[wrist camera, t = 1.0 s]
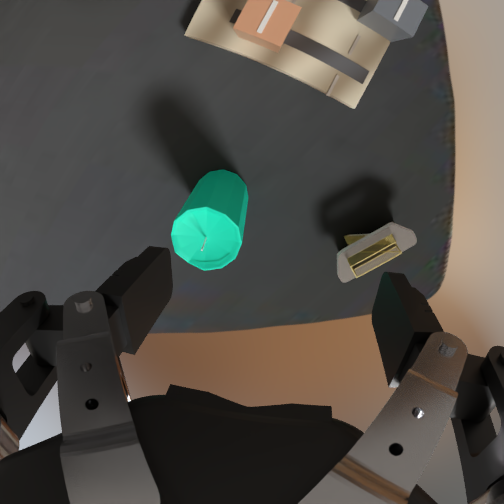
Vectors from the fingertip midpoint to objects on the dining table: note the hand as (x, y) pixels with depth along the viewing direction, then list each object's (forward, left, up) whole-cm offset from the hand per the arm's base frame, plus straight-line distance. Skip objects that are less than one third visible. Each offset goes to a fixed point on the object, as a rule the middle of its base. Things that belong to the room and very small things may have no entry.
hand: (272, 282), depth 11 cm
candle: (-2, -7, -23) cm, 25 cm away
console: (-3, +15, -23) cm, 28 cm away
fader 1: (-5, +11, -21) cm, 24 cm away
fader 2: (+4, +18, -21) cm, 28 cm away
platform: (+15, -4, -24) cm, 28 cm away
